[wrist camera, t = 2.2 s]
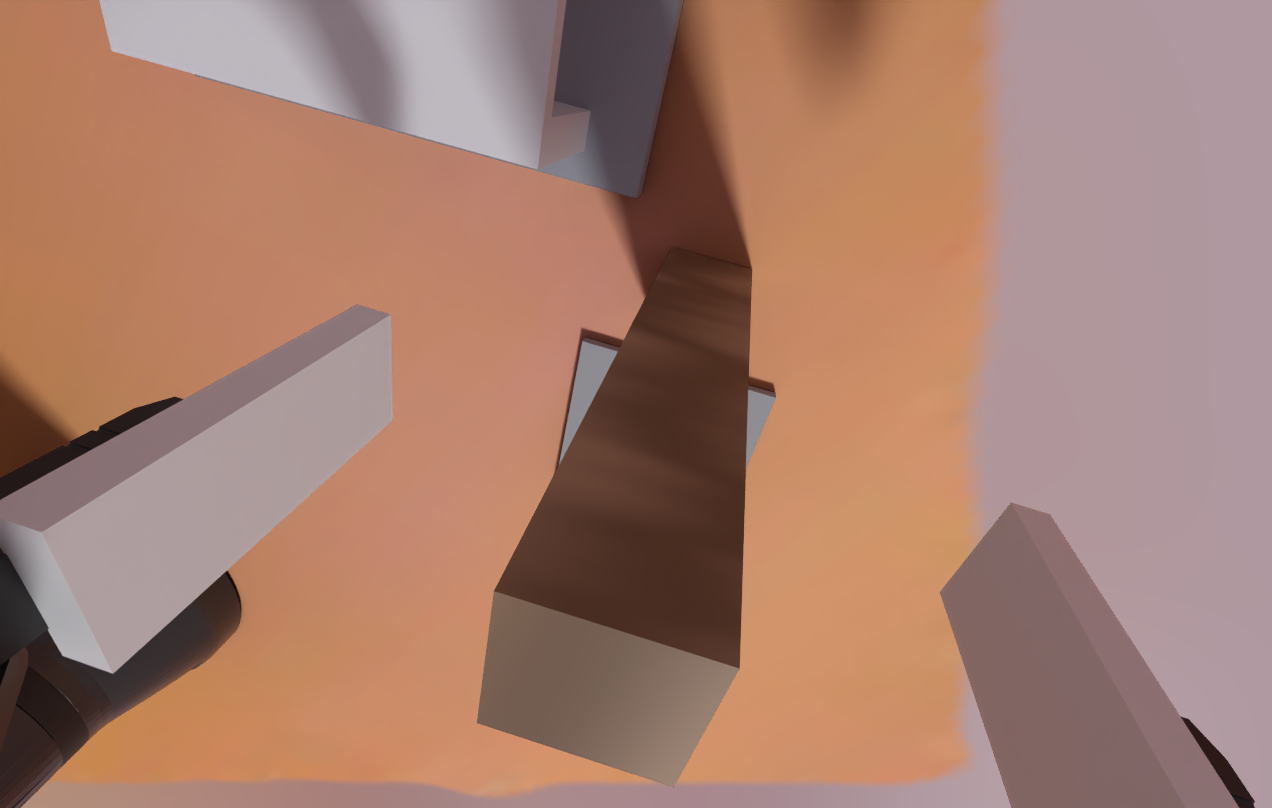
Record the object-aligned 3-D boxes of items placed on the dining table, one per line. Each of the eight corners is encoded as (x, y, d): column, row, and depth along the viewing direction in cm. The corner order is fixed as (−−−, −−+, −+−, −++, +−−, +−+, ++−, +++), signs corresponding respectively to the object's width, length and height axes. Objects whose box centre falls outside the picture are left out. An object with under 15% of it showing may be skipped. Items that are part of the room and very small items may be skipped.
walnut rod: (652, 321, 22) (476, 723, 8) (671, 246, 20) (493, 591, 7) (726, 342, 22) (673, 786, 8) (751, 269, 20) (738, 668, 6)
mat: (556, 484, 27) (554, 489, 26) (585, 337, 23) (582, 341, 22) (716, 532, 26) (716, 538, 26) (775, 393, 22) (775, 397, 22)
